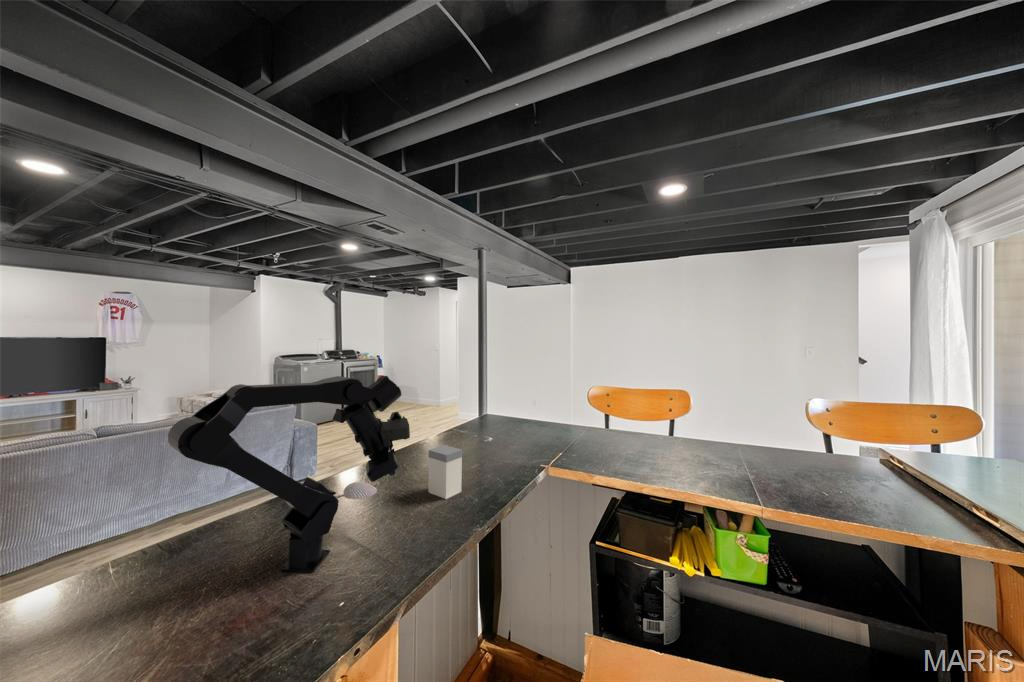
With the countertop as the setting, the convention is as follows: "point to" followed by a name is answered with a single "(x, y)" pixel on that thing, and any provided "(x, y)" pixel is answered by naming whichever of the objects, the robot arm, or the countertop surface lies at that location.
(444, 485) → the lidded box
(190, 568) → the countertop surface
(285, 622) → the countertop surface
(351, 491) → the seashell
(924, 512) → the countertop surface
